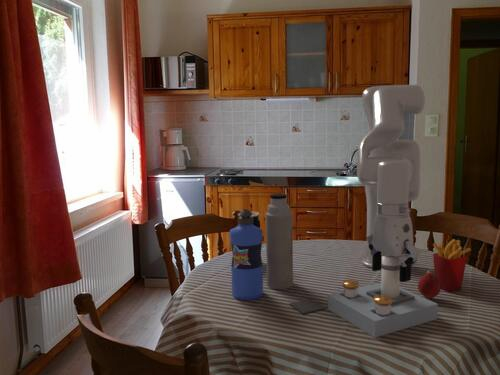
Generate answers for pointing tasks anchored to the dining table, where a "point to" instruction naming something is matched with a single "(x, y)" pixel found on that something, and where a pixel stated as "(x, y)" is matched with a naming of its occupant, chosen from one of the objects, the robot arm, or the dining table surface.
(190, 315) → the dining table surface
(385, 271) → the cartridge
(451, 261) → the french fries
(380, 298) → the plunger
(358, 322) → the housing
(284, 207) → the thermos bottle
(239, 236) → the water bottle
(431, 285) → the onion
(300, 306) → the pad
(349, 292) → the plunger
